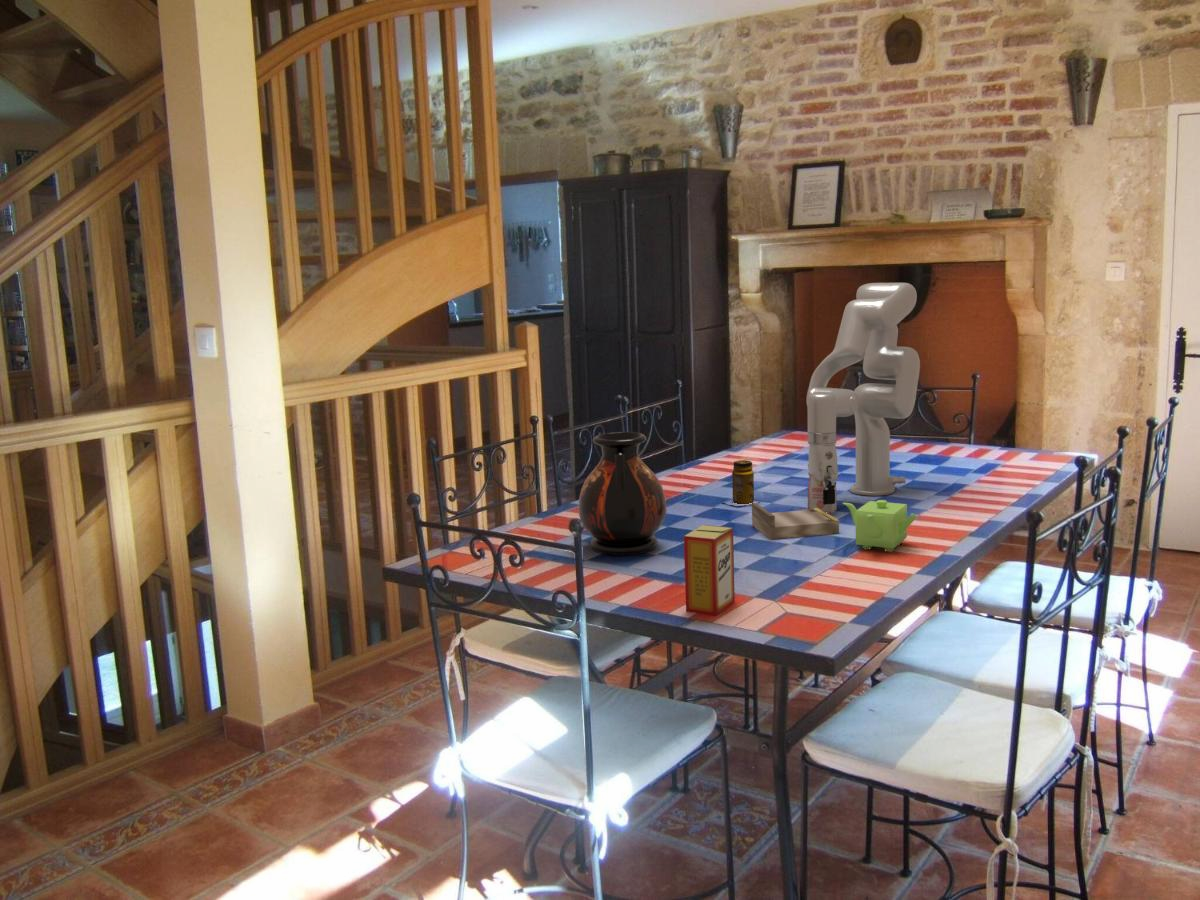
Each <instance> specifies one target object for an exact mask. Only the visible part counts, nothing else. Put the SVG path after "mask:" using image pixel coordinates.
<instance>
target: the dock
mask: <svg viewBox="0 0 1200 900" xmlns="http://www.w3.org/2000/svg"><path fill="white" fill-rule="evenodd" d="M751 526H752V527H753V526H754V527H755V530H757V531H758V530H759V531H758V532H760V533H761V532H762V533H763V534H762V533H761V534H762V535H763V536H765V535H766V536H767V537H766V536H765V537H766V538H768V539H769V540H770V539H772V540H779V539H778V538H783V539H790V538H791V537H793V538H801V536H804V537H812V536H814V537H815V536H824V535H832V534H833V533H836V534H839V533H840V519H837V518H836V517H834V516H833V515H830V513H826V512H824V511H822V510H820V509H819V508H813V509H811V510H808V509H802V510H800V509H799V510H791V511H790V510H789V511H780V512H779V511H777V512H770V511H769V510H767V509H766V508H764V507H763V506H761V505H760V504H759V503H752V505H751ZM754 527H753V528H754Z"/></svg>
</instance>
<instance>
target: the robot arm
mask: <svg viewBox="0 0 1200 900" xmlns="http://www.w3.org/2000/svg"><path fill="white" fill-rule="evenodd" d="M855 297H856V299H853V300H851V301H849V302H848V303H847V304H846V305H845V308H844V311H843V314H842V317H841V318H842V319H841V322H840V325H839V329H838V334H837V338H836V341H835V345H834V348H833V350H832V352H830V354H828V355H827V356H826V357H825V358H824V359H823V360H822V361H821V362H820V363H819V365H817V367H816V368H815V370H814V371H813V373H812V375H811V377H810V381H809V386H808V388H807V393H806V407H807V444H808V447H809V448H808V463H807V469H808V474H807V475H808V476H809V477H808V480H809V479H810V474H812V476H813V478H815V479H817V480H819V481H821V482H823V485H824V489H825V490H823V504H825V505H827V504H835V489H837V480H838V479H839V471H838V470H839V469H838V468H839V467H838V453H837V446H836V444H837V418H839V417H840V418H841V417H842V418H845V417H846V418H847V417H850V416H852V415H854V421H855V484H852V485H850V487H849V488H850V489H849V490H850V492H851V493H852V494H856V495H859V496H868V497H869V496H870V497H871V496H872V497H875V496H877V497H879V496H887V495H891V494H894V493H895V492H896V487H895V485H896V484H897V485H898V484H899V485H901V484H906V477H905V476H899V477H897V476H893V475H890V467H891V465H890V464H891V463H890V462H891V461H890V460H891V459H890V458H891V456H890V452H891V450H890V447H891V439H890V438H891V433H890V428H889V426H888V423H887V421H886V420H885V418H887V419H888V418H889V419H897V420H898V419H899V420H900V419H902V420H903V419H907V418H908V417H910V416H911V415H912V413H913V411H914V407H915V404H916V397H917V390H918V383H919V377H920V370H921V369H920V368H921V362H920V360H921V359H920V357H919V353H918V351H916V350H915V349H914V348H912V347H909V346H897V345H898V335H899V328H898V324H899V323H901V321H902V320H904V319H905V317H907V316H908V315H910V313H911V312H912V311H913V310H914V308H915V307H916V303H917V298H918V295H917V290H916V288H915V287H914V286H913V284H910V283H909V282H870V283H864V284H862V285H861V286H859V287H858V288H857V290H856V295H855ZM861 361H863V362H862V370H863V373H864V375H865V376H866V377H868V378H870V379H876V380H884V381H885V380H888V381H889V380H890V381H895V384H892V383H891V384H887V383H880V382H879V383H877V382H876V383H873V382H870V383H869V382H868V383H867V382H866V383H862V384H860V385H858V386H857V387H856V388H855V389H854V390H852V389H848V388H847V389H846V388H836V387H833V388H832V387H827V386H828V384H829V381H830V380H831V379H832V377H833V376H834V375H835V374H837V373H838V372H840V371H841V370H843V369H845V368H847V367H850V366H851V365H854V364H857V363H858V362H861ZM825 478H826V479H825ZM826 482H828V484H827V483H826Z"/></svg>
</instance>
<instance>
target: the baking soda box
mask: <svg viewBox="0 0 1200 900" xmlns="http://www.w3.org/2000/svg"><path fill="white" fill-rule="evenodd" d="M734 549H735V548H734V527H732V526H731V527H730V526H721V525H720V526H719V525H709V524H701V526H699V527H697V528H695V529H693V530H692V531H690V532H688V533H687V534H685V535H684V536H683V555H684V556H683V557H684V558H683V559H684V584H685V585H684V587H685V593H684V594H685V612H688V613H695V614H701V615H708V616H718V615H719V614H721V612H723V611H724V610H725V609H727V608H728V607H729V606H731V605H732V604H733V603H735V599H736V598H735V560H734V559H735V558H734V557H735V555H734V554H735V553H734V551H735V550H734Z"/></svg>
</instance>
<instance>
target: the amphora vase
mask: <svg viewBox="0 0 1200 900" xmlns="http://www.w3.org/2000/svg"><path fill="white" fill-rule="evenodd" d="M592 441H593V443H594V444H596V445H597V446H600V448H601V453H602V456H601V458H600V459H599V462H598V463H597V465H596V466H595V467H594V469H593V470H592V471H590V473H589V474H588V475H587V477H586V479H585V480H584V483H583V484H582V487H581V489H580V493H579V500H578V506H577V507H578V515H579V519H580V521H582V522H583V524H582V526H583V525H584V526H583V528H584V529H585V530H586V531H587V532H588V533H589V535H590V536H592V539H591V541H590V547H591V549H592V550H594V551H595V552H597V553H599V552H600V553H599V554H602V555H609V556H633V555H634V556H635V555H639V554H643V553H646V552H649V551H651V550H653V549H655V548H656V546H657V544H658V539H657V538H656V536H655V534H656V533H657V532H658V531H659V530H660V528H661V526H662V525H663V523H664V521H665V518H666V515H667V500H666V494H665V491H664V489H663V484H662V483H661V482H660V480H659V478H658V477H657V475H656V473H655V472H654V471H652V470H651V469H650V468H649V467H648V465H646V463H645V462H644V461H643V460H642V458H641V457H640V455H639V448H640V447H639V446H640V445H641V444H642V443H644V442H646V441H647V436H645V434H643V433H640V432H633V431H632V432H631V431H617V432H607V433H602V434H599V435H596V436H594V437H593V439H592ZM582 522H581V523H582Z"/></svg>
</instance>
